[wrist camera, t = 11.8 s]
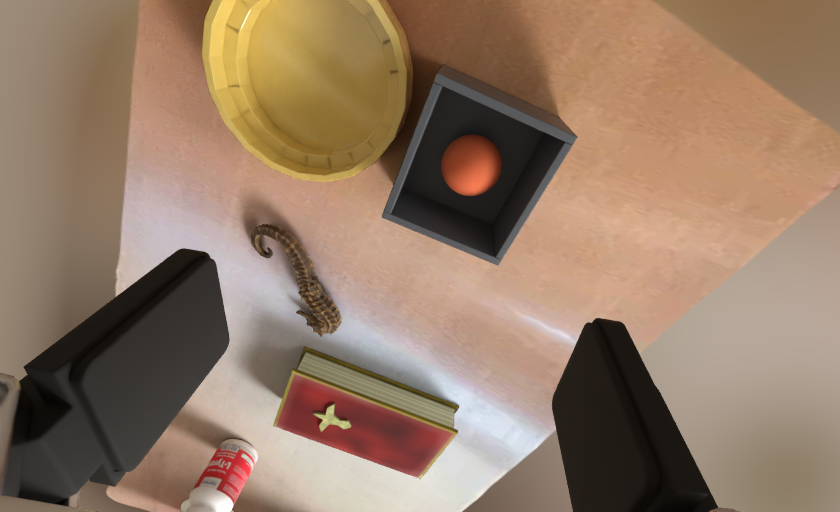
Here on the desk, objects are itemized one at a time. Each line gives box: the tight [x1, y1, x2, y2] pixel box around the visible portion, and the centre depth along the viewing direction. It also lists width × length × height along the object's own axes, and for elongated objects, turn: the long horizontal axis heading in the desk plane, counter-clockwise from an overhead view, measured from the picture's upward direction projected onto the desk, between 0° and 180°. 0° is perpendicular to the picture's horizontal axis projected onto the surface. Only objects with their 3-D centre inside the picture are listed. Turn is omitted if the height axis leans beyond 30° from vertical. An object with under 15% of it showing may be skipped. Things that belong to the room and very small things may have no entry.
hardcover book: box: [273, 347, 459, 479], centre depth 50 cm, size 12×21×4 cm, turn 67°
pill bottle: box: [186, 439, 258, 512], centre depth 57 cm, size 6×6×11 cm
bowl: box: [202, 0, 413, 182], centre depth 30 cm, size 15×15×4 cm
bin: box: [382, 64, 577, 265], centre depth 31 cm, size 11×10×6 cm
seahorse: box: [250, 224, 342, 337], centre depth 42 cm, size 6×15×2 cm, turn 22°
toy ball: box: [441, 134, 502, 196], centre depth 31 cm, size 5×5×5 cm
